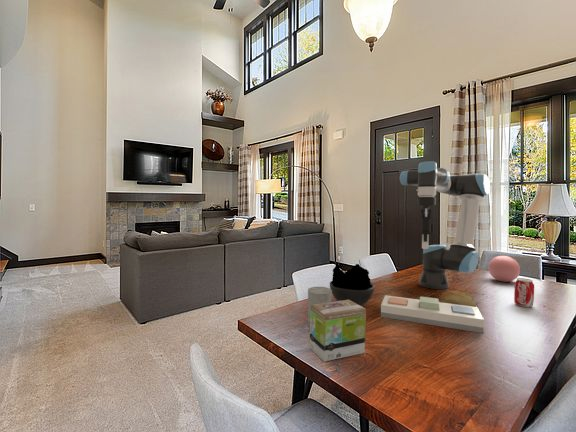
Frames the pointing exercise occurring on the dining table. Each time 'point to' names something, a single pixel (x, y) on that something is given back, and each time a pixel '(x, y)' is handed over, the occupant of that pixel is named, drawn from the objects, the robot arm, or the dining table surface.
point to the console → (433, 315)
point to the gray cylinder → (318, 297)
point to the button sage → (429, 303)
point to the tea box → (337, 329)
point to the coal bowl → (352, 285)
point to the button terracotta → (398, 301)
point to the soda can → (524, 292)
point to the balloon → (504, 268)
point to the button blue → (462, 310)
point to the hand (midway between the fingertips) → (425, 248)
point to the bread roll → (457, 298)
